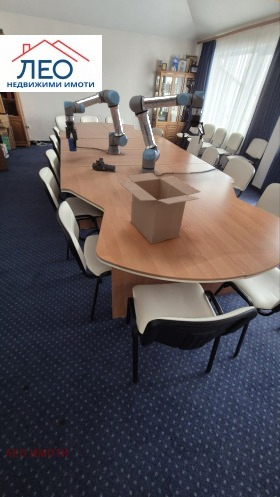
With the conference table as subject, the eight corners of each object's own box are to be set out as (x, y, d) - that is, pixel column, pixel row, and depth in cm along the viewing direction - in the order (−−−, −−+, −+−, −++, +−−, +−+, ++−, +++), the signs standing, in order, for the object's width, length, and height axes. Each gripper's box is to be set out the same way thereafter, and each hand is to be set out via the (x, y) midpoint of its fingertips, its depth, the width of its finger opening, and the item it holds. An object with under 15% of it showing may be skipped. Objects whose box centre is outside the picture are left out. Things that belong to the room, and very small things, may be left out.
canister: (72, 149, 227) (71, 137, 220) (78, 150, 225) (76, 138, 218) (68, 150, 221) (66, 138, 214) (73, 152, 219) (72, 139, 212)
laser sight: (113, 173, 208) (113, 162, 203) (90, 170, 211) (89, 159, 205) (116, 170, 216) (116, 159, 210) (94, 167, 219) (93, 157, 213)
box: (200, 241, 124) (213, 195, 108) (145, 257, 109) (150, 207, 93) (159, 208, 154) (164, 169, 138) (112, 217, 139) (111, 174, 123)
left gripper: (59, 119, 209) (63, 145, 223) (73, 122, 200) (76, 149, 214) (66, 119, 214) (69, 144, 228) (80, 122, 205) (82, 148, 219)
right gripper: (211, 115, 180) (205, 143, 193) (180, 112, 183) (176, 140, 196) (212, 116, 174) (205, 145, 187) (180, 113, 177) (176, 142, 190)
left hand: (72, 147), depth 221 cm, fingers closed on canister, 7 cm apart
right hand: (190, 142), depth 191 cm, fingers open, 13 cm apart
